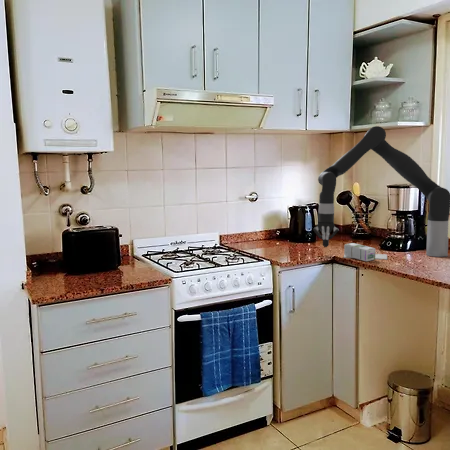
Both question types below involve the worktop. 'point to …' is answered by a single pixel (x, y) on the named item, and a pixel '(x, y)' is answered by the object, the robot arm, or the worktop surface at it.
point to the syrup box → (359, 251)
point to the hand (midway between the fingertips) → (325, 246)
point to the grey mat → (377, 256)
